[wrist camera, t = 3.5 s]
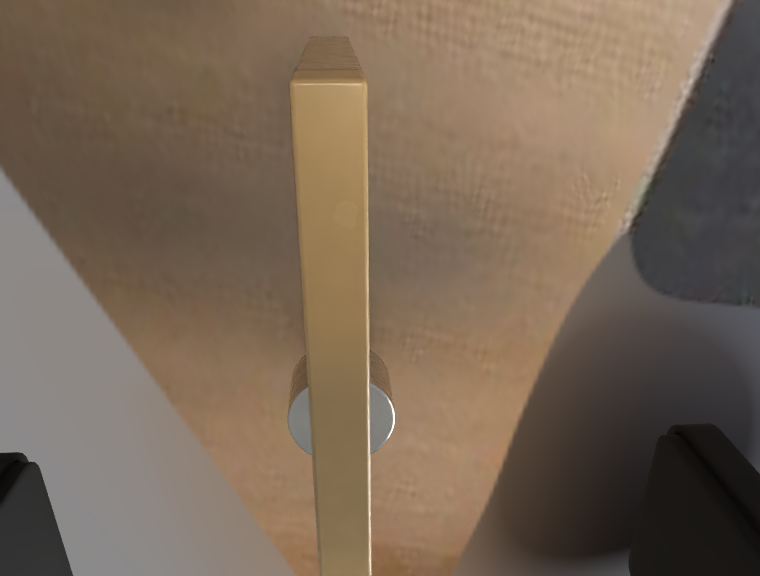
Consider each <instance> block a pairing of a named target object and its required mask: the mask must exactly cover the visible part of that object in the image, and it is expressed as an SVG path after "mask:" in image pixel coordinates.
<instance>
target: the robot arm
mask: <svg viewBox="0 0 760 576" xmlns="http://www.w3.org/2000/svg"><path fill="white" fill-rule="evenodd" d="M629 570H630V575H631V576H760V474H759V473H758V472H757V471H756V470H755V468H754V467H753V466H752V465H751V464H750V463H749V462H748V460H747V459H746V458H745V457H744V456H743V455H742V454H741V453H740V452H739V450H738V449H737V448H736V447H735V446H734V445H733V444H732V443H731V441H730V440H729V439H728V438H727V437H726V436H725V435H724V434H723V433H722V431H721V430H720V429H719V428H717V427H716V426H715V425H712V424H687V425H674V426H672V427H671V428H670V429H669V430H668V432H667V435H662V436H660V438H659V439H658V442H657V445H656V449H655V453H654V457H653V461H652V465H651V469H650V473H649V477H648V481H647V485H646V489H645V494H644V498H643V502H642V506H641V510H640V514H639V518H638V522H637V526H636V530H635V534H634V539H633V542H632V546H631V551H630V554H629ZM0 576H73V574H72V571H71V568H70V564H69V561H68V558H67V555H66V551H65V548H64V545H63V542H62V538H61V535H60V532H59V529H58V526H57V523H56V519H55V516H54V513H53V510H52V506H51V503H50V500H49V497H48V493H47V490H46V487H45V484H44V480H43V477H42V474H41V471H40V468H39V466H38V465H37V464H36V463H35V462H29V461H28V460H27V457H26V456H25V455H24V454H23V453H17V452H16V453H15V452H14V453H0Z"/></svg>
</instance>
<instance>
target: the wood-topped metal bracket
mask: <svg viewBox="0 0 760 576" xmlns="http://www.w3.org/2000/svg"><path fill="white" fill-rule="evenodd" d="M289 94H290V110H291V126H292V142H293V158H294V174H295V190H296V206H297V222H298V238H299V254H300V271H301V287H302V303H303V319H304V335H305V351H306V355H305V356H304V357H303V358H302V359H301V360H300V361H299V363H298V364H297V365H296V367H295V369H294V372H293V375H292V381H291V390H290V400H289V410H288V426H289V430H290V433H291V435H292V437H293V439H294V440H295V442H296V443H297V444H298V445H299V446H300V447H301V448H302V449H303V450H304V451H305V452H307V453H308V454H310V455H312V463H313V479H314V495H315V511H316V527H317V543H318V559H319V575H320V576H372V575H371V455H370V454H372V453H374V452H375V451H376V450H378V449H379V448H380V447H381V446H382V445H383V444H384V443H385V442H386V441H387V439H388V438H389V436H390V434H391V432H392V430H393V427H394V423H395V411H394V405H393V398H392V392H391V385H390V379H389V374H388V370H387V368H386V366H385V364H384V362H383V361H382V360H381V359H380V357H379V356H378V355H376V354H375V353H374V352H373V351H371V350H370V335H369V216H368V96H367V82H366V79H365V77H364V74H363V72H362V69H361V67H360V64H359V62H358V60H357V57H356V55H355V53H354V50H353V48H352V45H351V43H350V41H349V38H348V37H310V39H309V41H308V43H307V45H306V47H305V49H304V52H303V54H302V56H301V58H300V60H299V62H298V64H297V67H296V69H295V71H294V73H293V76H292V78H291V80H290V83H289Z"/></svg>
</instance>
